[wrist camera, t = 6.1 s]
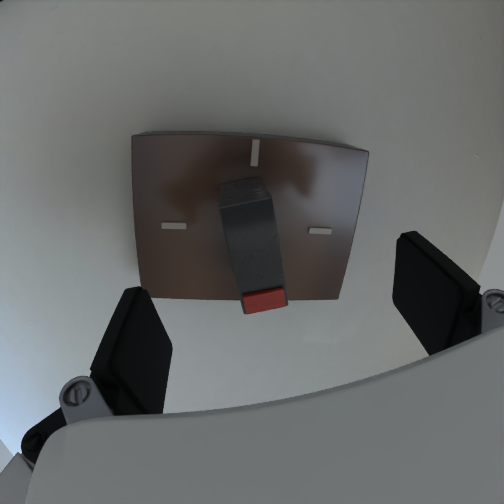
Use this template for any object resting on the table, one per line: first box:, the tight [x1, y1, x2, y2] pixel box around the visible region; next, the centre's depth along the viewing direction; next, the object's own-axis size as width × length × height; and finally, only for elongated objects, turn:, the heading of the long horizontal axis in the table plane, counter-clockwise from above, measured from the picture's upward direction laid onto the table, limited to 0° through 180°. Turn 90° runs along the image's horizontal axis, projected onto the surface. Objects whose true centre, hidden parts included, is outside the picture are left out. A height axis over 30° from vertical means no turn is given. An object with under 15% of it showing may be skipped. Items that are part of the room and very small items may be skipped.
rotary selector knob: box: [218, 177, 288, 314], centre depth 14 cm, size 6×2×4 cm, turn 10°
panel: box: [132, 131, 369, 300], centre depth 18 cm, size 13×10×3 cm
